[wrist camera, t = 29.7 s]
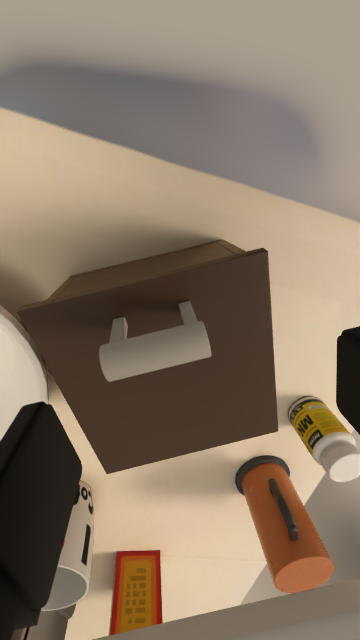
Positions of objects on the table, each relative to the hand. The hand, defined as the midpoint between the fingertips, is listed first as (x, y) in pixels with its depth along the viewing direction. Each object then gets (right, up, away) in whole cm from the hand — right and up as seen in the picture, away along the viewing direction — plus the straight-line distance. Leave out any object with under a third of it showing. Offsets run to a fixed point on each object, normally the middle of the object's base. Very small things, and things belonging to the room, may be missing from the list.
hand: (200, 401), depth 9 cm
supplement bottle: (+15, -9, +27) cm, 32 cm away
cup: (-15, -20, +28) cm, 37 cm away
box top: (-1, -1, +11) cm, 11 cm away
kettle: (+11, -19, +30) cm, 37 cm away
